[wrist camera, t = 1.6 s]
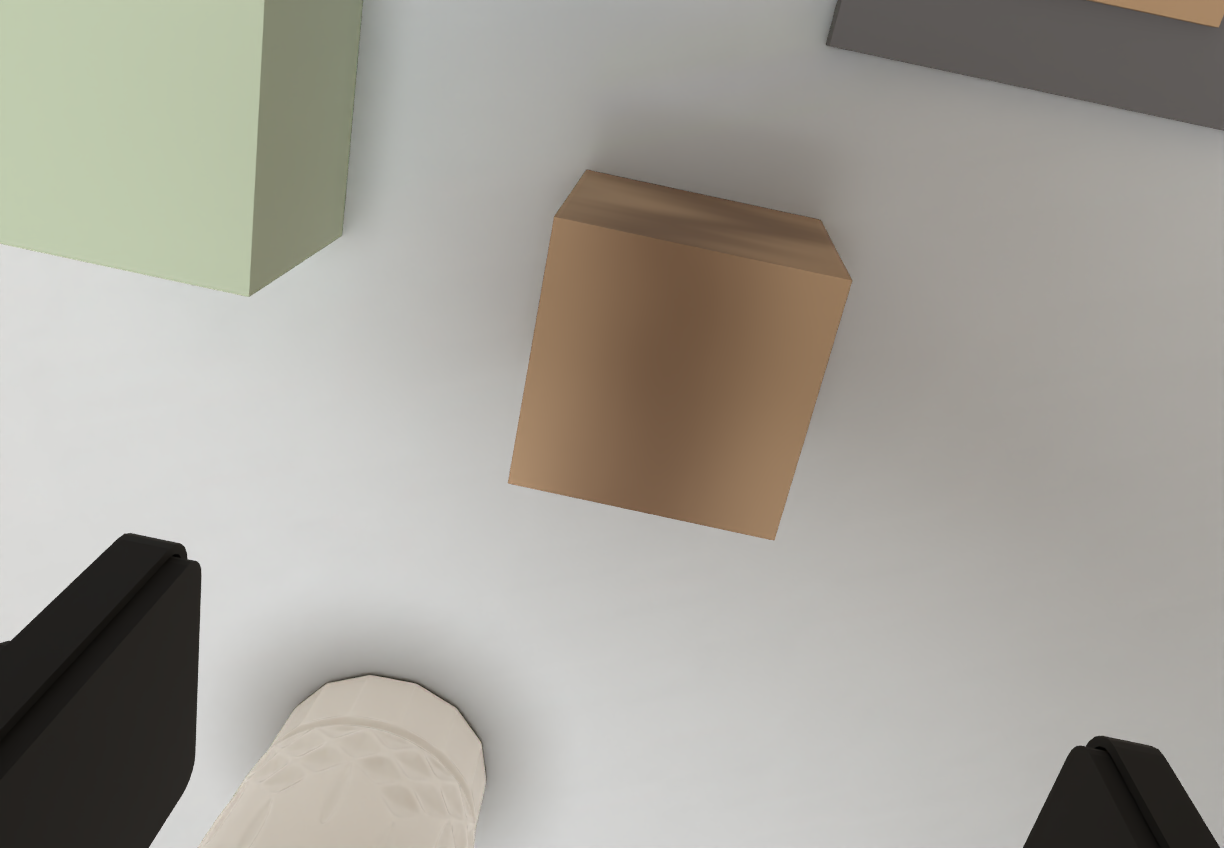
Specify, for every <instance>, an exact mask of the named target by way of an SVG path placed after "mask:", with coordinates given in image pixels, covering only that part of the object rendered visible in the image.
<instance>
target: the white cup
mask: <svg viewBox="0 0 1224 848" xmlns="http://www.w3.org/2000/svg"><path fill="white" fill-rule="evenodd" d="M485 786H486V774H485V766H484V759H483V751H482V744H481V742H480V740H479V739H478V737H477V736H476V735H475V733H474V732H473V730H472V729H471V728H470V726H469V725H468V723H467V722H466V721H465V719H464V718H463V716H462V715H461V714H460V712H459V711H458V710H457V708H455V707H454V706H452V705H451V704H449V703H447V702H446V701H444V700H443V699H441V698H439V697H438V696H436V695H434V694H433V693H431V692H430V691H428V690H426V689H425V688H423V687H421V686H420V685H418V684H415V683H411V682H405V681H400V680H395V679H390V678H385V677H379V676H374V675H367V676H362V677H356V678H351V679H346V680H341V681H336V682H331V683H327V684H325V685H324V686H323V687H321V688H320V689H319V690H318V691H316V692H315V693H314V694H312V695H311V696H310V697H309V698H307V699H306V700H305V701H303V702H302V703H301V704H300V705H298V706H297V707H296V708H295V709H294V710H293V712H292V713H291V715H290V716H289V718H288V720H287V721H286V723H285V724H284V726H283V727H282V729H281V730H280V732H279V734H278V735H277V737H276V738H275V740H274V741H273V743H272V744H271V746H270V748H269V749H268V751H267V752H266V753H265V754H264V755H263V757H262V758H261V759H260V760H259V761H258V762H257V764H256V765H255V766H254V767H253V769H252V770H251V771H250V772H249V774H248V775H247V776H246V777H245V779H244V780H243V782H242V783H241V785H240V787H239V788H238V790H237V791H236V793H235V795H234V796H233V798H232V799H231V801H230V802H229V803H228V804H227V806H226V807H225V808H224V809H223V811H222V812H221V813H220V815H219V816H218V818H217V819H216V820H215V822H214V823H213V825H212V826H211V828H210V829H209V831H208V832H207V834H206V835H205V837H204V838H203V840H202V841H201V843H200V844H199V846H198V847H197V848H474V841H475V830H476V825H477V821H478V817H479V812H480V808H481V804H482V799H483V795H484V790H485Z"/></svg>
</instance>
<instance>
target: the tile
mask: <svg viewBox="0 0 1224 848" xmlns="http://www.w3.org/2000/svg"><path fill="white" fill-rule="evenodd" d="M826 45H829V46H832V47H837V48H841V49H846V50H851V51H855V52H860V53H865V54H869V55H874V56H879V57H883V58H888V59H893V60H897V61H902V62H907V63H911V64H916V65H921V66H925V67H930V68H935V69H939V70H944V71H949V72H953V73H958V74H963V75H967V76H972V77H977V78H981V79H986V80H991V81H995V82H1000V83H1005V84H1009V85H1014V86H1019V87H1023V88H1028V89H1033V90H1037V91H1042V92H1047V93H1051V94H1056V95H1061V96H1065V97H1070V98H1075V99H1079V100H1084V101H1089V102H1093V103H1098V104H1103V105H1107V106H1112V107H1117V108H1121V109H1126V110H1131V111H1135V112H1140V113H1145V114H1149V115H1154V116H1159V117H1163V118H1168V119H1173V120H1177V121H1182V122H1187V123H1191V124H1196V125H1201V126H1205V127H1210V128H1215V129H1219V130H1224V0H838V1H837V5H836V8H835V12H834V16H833V20H832V24H831V27H830V31H829V35H828V39H827V43H826Z"/></svg>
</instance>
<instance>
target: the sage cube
mask: <svg viewBox="0 0 1224 848" xmlns="http://www.w3.org/2000/svg"><path fill="white" fill-rule="evenodd" d="M362 6H363V0H0V244H4V245H9V246H13V247H18V248H23V249H27V250H32V251H37V252H41V253H46V254H51V255H55V256H60V257H65V258H69V259H74V260H79V261H83V262H88V263H93V264H97V265H102V266H107V267H111V268H116V269H121V270H125V271H130V272H135V273H139V274H144V275H149V276H153V277H158V278H163V279H167V280H172V281H177V282H181V283H186V284H191V285H195V286H200V287H205V288H209V289H214V290H219V291H223V292H228V293H233V294H237V295H242V296H247V297H250V296H251V295H253V294H254V293H256V292H257V291H259V290H260V289H262V288H263V287H265V286H266V285H268V284H269V283H271V282H272V281H274V280H275V279H277V278H279V277H280V276H282V275H283V274H285V273H286V272H288V271H289V270H291V269H292V268H294V267H295V266H297V265H298V264H300V263H301V262H303V261H304V260H306V259H307V258H309V257H310V256H312V255H313V254H315V253H316V252H318V251H319V250H321V249H323V248H324V247H326V246H327V245H329V244H330V243H332V242H333V241H335V240H336V239H338V238H339V237H341V236H342V231H343V220H344V209H345V197H346V186H347V175H348V164H349V152H350V141H351V130H352V119H353V107H354V96H355V85H356V73H357V62H358V51H359V40H360V28H361V17H362Z"/></svg>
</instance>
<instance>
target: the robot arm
mask: <svg viewBox="0 0 1224 848" xmlns="http://www.w3.org/2000/svg"><path fill="white" fill-rule="evenodd" d="M200 600H201V567H200V564H199V563H198V562H197V561H193V560H188V559H187V552H186V549H185V547H184V546H183V545H182V544H180V543H175V542H171V541H166V540H161V539H156V538H151V537H147V536H142V535H137V534H132V533H128V534H124V535H122V536H121V537H119V538H118V539H117V540H116V541H115V542H114V543H113V544H112V545H111V546H110V547H109V548H108V549H107V550H105V551H104V552H103V553H102V554H101V555H100V556H99V557H98V558H97V559H96V560H95V561H94V562H93V563H92V564H91V565H90V566H89V567H88V568H87V569H86V570H85V571H84V572H82V573H81V574H80V575H79V576H78V577H77V578H76V579H75V580H74V581H73V582H72V583H71V584H70V585H69V586H68V587H67V588H66V589H65V590H64V591H63V592H62V593H60V594H59V595H58V596H57V597H56V598H55V599H54V600H53V601H52V602H51V603H50V604H49V605H48V606H47V607H46V608H45V609H44V610H43V611H42V612H41V613H40V614H38V615H37V616H36V617H35V618H34V619H33V620H32V621H31V622H30V623H29V624H28V625H27V626H26V627H25V628H24V629H23V630H22V631H21V632H20V633H19V634H18V635H16V636H15V637H14V638H13V639H12V640H11V641H6V642H3V643H0V848H149V846H150V845H151V843H152V842H153V840H154V838H155V837H156V835H157V834H158V832H159V831H160V829H161V827H162V826H163V824H164V823H165V821H166V819H167V818H168V816H169V815H170V813H171V812H172V810H173V808H174V807H175V805H176V804H177V802H178V801H179V799H180V797H181V796H182V794H183V792H184V791H185V789H186V787H187V784H188V782H189V780H190V777H191V773H192V770H193V766H194V761H195V746H196V717H197V688H198V659H199V629H200ZM1023 848H1220V847H1219V845H1218V844H1217V842H1216V840H1215V839H1214V837H1213V835H1212V834H1211V832H1210V831H1209V829H1208V827H1207V826H1206V824H1205V822H1204V821H1203V819H1202V817H1201V816H1200V814H1199V812H1198V811H1197V809H1196V808H1195V806H1194V804H1193V803H1192V801H1191V799H1190V798H1189V796H1188V794H1187V793H1186V791H1185V789H1184V788H1183V786H1182V785H1181V783H1180V781H1179V780H1178V778H1177V776H1176V775H1175V773H1174V771H1173V770H1172V768H1171V767H1170V765H1169V763H1168V762H1167V760H1166V758H1165V757H1164V755H1163V754H1162V753H1161V752H1160V751H1159V750H1158V749H1156V748H1154V747H1152V746H1149V745H1144V744H1139V743H1134V742H1130V741H1125V740H1120V739H1115V738H1110V737H1106V736H1096V737H1094V738H1093V739H1092V740H1090V741H1089V742H1088V744H1087V745H1086V747H1085V746H1076V747H1075V748H1073V749H1072V750H1071V752H1070V753H1069V755H1068V757H1067V759H1066V761H1065V763H1064V765H1063V767H1062V769H1061V771H1060V773H1059V775H1058V777H1057V779H1056V781H1055V783H1054V785H1053V787H1052V789H1051V791H1050V793H1049V795H1048V798H1047V800H1046V802H1045V804H1044V806H1043V808H1042V810H1041V812H1040V814H1039V816H1038V818H1037V820H1036V822H1035V824H1034V826H1033V828H1032V830H1031V832H1030V834H1029V836H1028V839H1027V841H1026V843H1025V845H1024V847H1023Z"/></svg>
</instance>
